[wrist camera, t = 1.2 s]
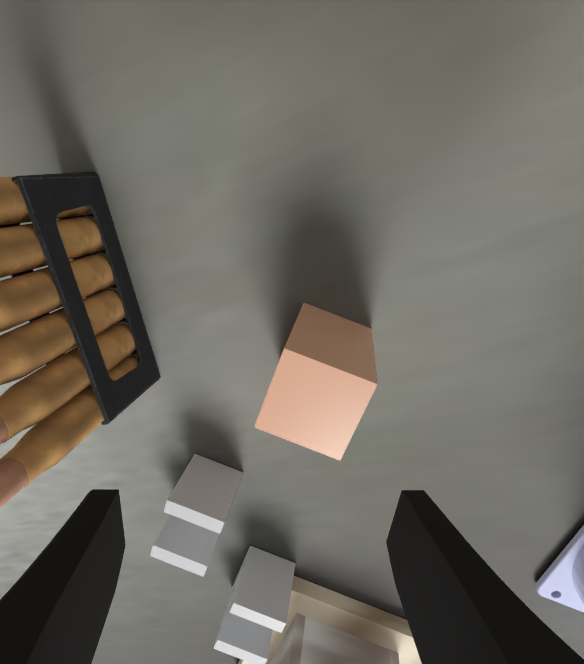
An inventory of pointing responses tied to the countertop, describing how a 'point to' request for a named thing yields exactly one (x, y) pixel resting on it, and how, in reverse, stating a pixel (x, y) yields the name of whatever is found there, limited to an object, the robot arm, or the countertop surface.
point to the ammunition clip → (63, 322)
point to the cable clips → (197, 547)
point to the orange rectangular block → (321, 382)
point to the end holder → (339, 631)
